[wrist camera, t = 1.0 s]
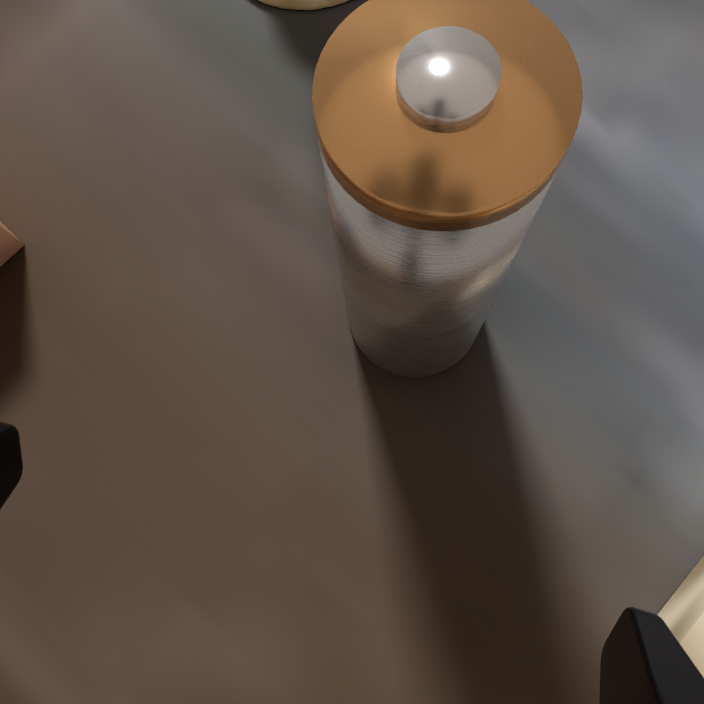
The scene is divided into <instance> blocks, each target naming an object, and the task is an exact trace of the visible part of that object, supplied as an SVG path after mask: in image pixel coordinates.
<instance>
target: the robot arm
mask: <svg viewBox="0 0 704 704" xmlns="http://www.w3.org/2000/svg"><path fill="white" fill-rule="evenodd" d="M22 470H23V463H22V455H21V446H20V438H19V432H18V430H17V429H16V427H15V426H13V425H11V424H7V423H4V422H0V509H1V508H2V506H3V505H4V503H5V502H6V500H7V499H8V497H9V496H10V494H11V493H12V491H13V490H14V488H15V487H16V486H17V484H18V482H19V480H20V478H21V475H22ZM600 704H704V677H703V676H702V674H701V673H700V672H699V670H698V669H697V667H696V666H695V664H694V663H693V662H692V660H691V659H690V657H689V656H688V655H687V653H686V652H685V650H684V649H683V647H682V646H681V645H680V643H679V642H678V640H677V639H676V637H675V636H674V635H673V633H672V632H671V630H670V629H669V628H668V626H667V625H666V623H665V622H664V621H663V619H662V618H661V617H659V616H658V615H656V614H654V613H650V612H647V611H644V610H640V609H637V608H633V607H629V608H626V609H625V610H624V611H623V613H622V614H621V616H620V617H619V619H618V621H617V623H616V624H615V626H614V628H613V630H612V631H611V633H610V635H609V637H608V638H607V640H606V642H605V644H604V647H603V650H602V655H601V669H600Z"/></svg>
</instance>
